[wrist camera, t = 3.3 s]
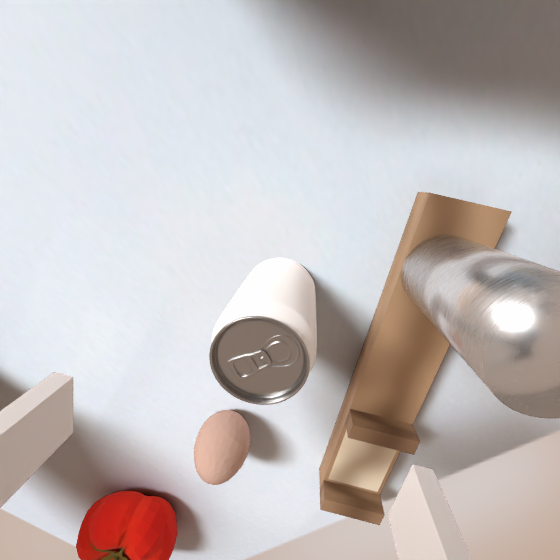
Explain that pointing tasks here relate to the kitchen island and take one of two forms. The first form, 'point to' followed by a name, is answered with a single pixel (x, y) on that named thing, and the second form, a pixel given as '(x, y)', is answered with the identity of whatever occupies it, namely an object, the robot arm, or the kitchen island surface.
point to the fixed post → (493, 317)
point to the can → (267, 334)
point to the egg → (221, 447)
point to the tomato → (128, 528)
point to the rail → (394, 368)
